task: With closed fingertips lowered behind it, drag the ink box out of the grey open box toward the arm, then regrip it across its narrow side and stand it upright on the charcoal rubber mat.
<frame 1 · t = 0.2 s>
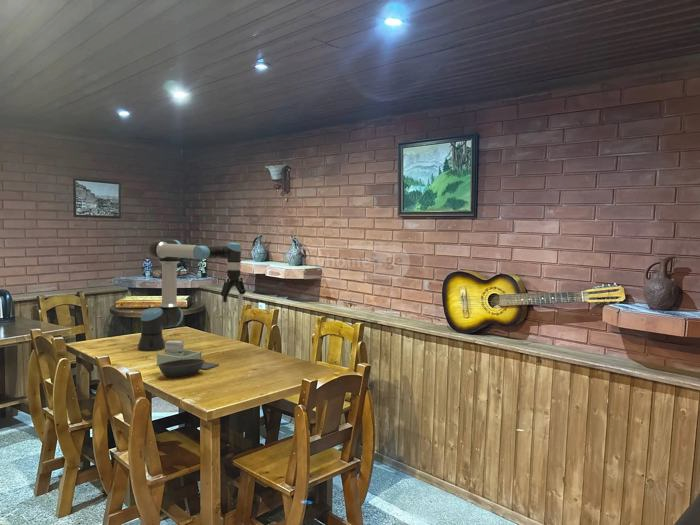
hand: (233, 306, 286), 28 cm above the table, fingers open, 13 cm apart
bowl: (181, 375, 243), on the table
stand mat: (204, 366, 260), on the table
ink box: (174, 363, 264), on the table
grey open box: (179, 364, 263), on the table
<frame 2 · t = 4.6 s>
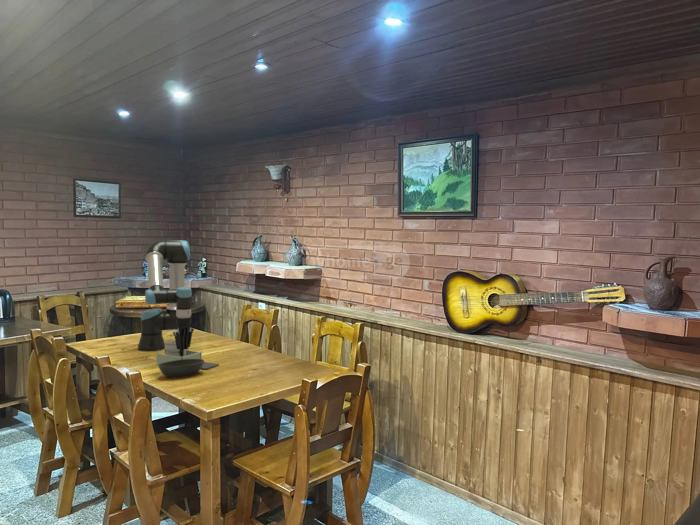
hand: (183, 361, 262), 2 cm above the table, fingers closed
ink box: (174, 363, 264), on the table, touching gripper
everything else where it was.
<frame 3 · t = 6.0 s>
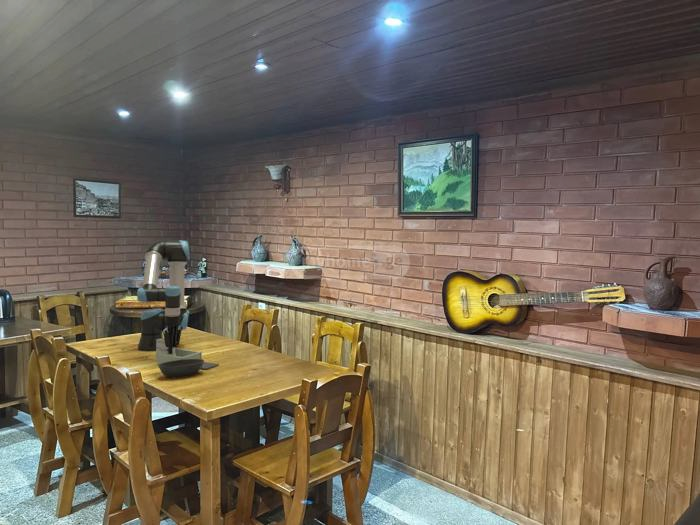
hand: (172, 359, 265), 2 cm above the table, fingers closed
ink box: (164, 361, 267), on the table, touching gripper
everything else where it was.
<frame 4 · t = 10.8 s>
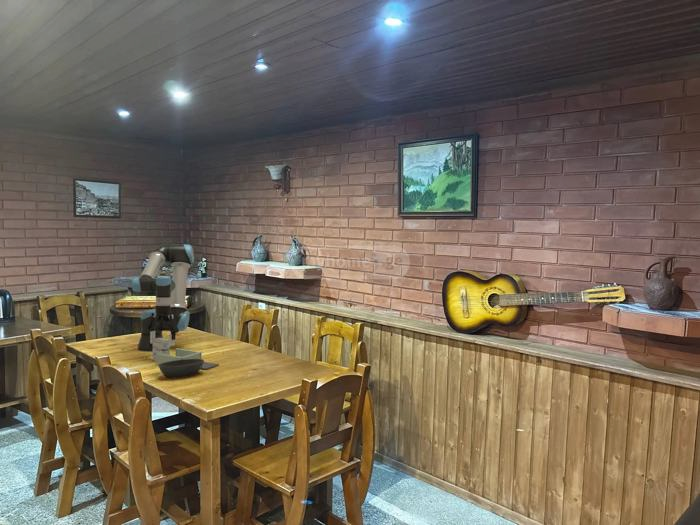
hand: (162, 344, 266), 9 cm above the table, fingers open, 13 cm apart
ink box: (161, 360, 269), on the table, touching gripper
everything else where it was.
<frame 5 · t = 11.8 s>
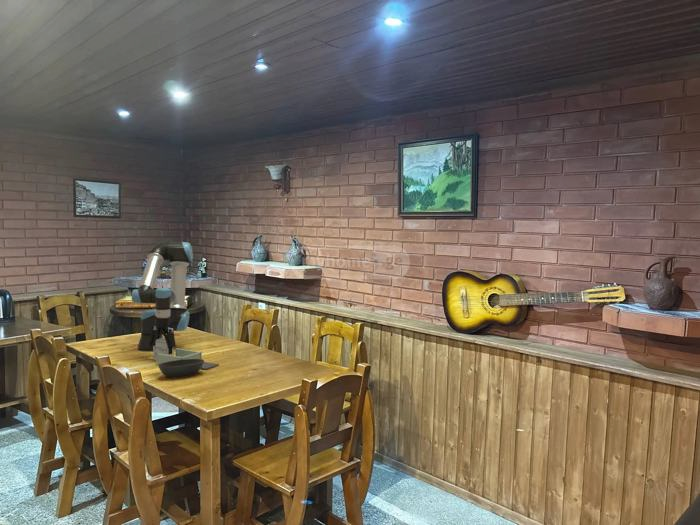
hand: (162, 358, 267), 1 cm above the table, fingers closed on ink box, 9 cm apart
ink box: (164, 361, 269), on the table, touching gripper
everything else where it was.
when the fingers open (3 cm above the table, at t = 18.6 s): ink box stays where it is, resting on stand mat.
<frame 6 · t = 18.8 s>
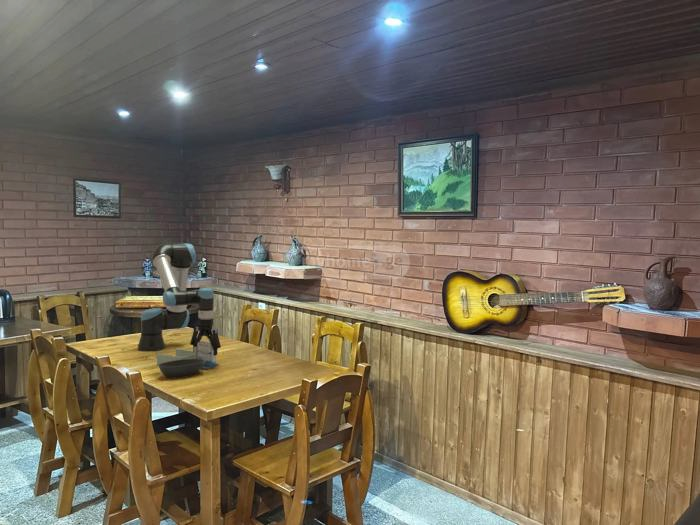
hand: (205, 360, 259), 3 cm above the table, fingers open, 11 cm apart
ink box: (206, 364, 261), point 1 cm above the table, touching stand mat
everything else where it was.
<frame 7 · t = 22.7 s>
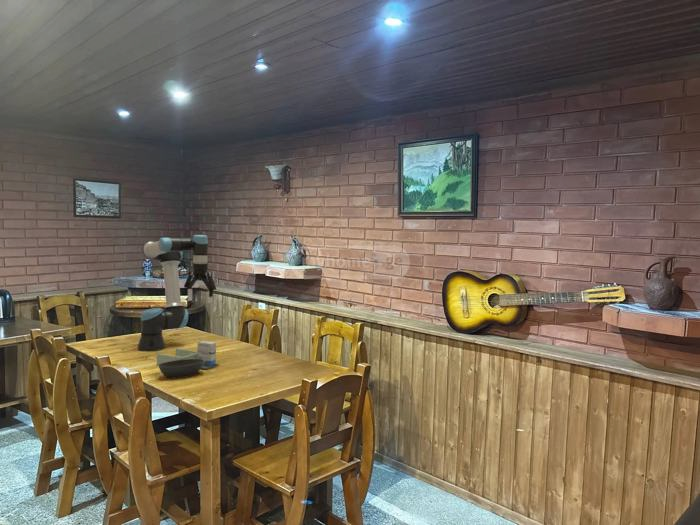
hand: (199, 301, 273), 32 cm above the table, fingers open, 13 cm apart
nothing on the table moved.
at the end: ink box inside the target area on the stand mat (1.5 cm from its centre), point 0.6 cm above the stand mat's base; ink box tilted 0°; the gripper is holding nothing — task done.
